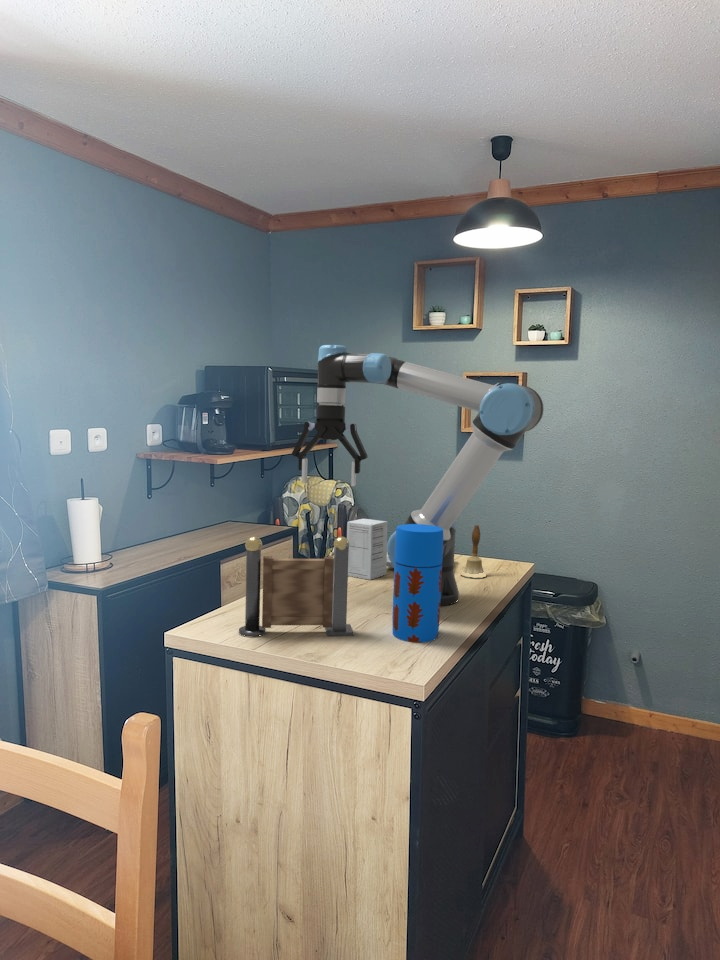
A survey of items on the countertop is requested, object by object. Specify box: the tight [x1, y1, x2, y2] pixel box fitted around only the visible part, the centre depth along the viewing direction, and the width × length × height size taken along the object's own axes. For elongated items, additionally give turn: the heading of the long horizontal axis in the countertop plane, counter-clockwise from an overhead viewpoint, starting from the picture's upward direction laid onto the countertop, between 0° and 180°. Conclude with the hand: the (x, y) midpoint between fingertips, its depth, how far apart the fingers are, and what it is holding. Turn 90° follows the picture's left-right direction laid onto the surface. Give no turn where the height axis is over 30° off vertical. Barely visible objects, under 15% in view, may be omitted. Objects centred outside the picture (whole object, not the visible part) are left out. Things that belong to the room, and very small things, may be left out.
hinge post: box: [238, 535, 267, 637], centre depth 162 cm, size 6×6×22 cm
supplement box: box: [346, 518, 389, 581], centre depth 219 cm, size 10×9×17 cm
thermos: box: [391, 524, 444, 643], centre depth 164 cm, size 11×11×25 cm
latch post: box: [324, 536, 354, 637], centre depth 164 cm, size 6×6×22 cm
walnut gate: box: [261, 555, 334, 629], centre depth 163 cm, size 16×2×16 cm, turn 97°
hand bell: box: [462, 524, 485, 574], centre depth 224 cm, size 8×8×16 cm
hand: (328, 484), depth 192 cm, fingers open, 13 cm apart
